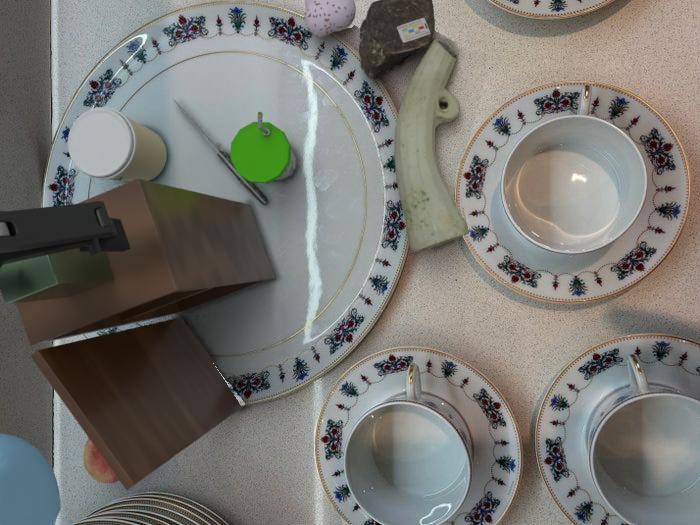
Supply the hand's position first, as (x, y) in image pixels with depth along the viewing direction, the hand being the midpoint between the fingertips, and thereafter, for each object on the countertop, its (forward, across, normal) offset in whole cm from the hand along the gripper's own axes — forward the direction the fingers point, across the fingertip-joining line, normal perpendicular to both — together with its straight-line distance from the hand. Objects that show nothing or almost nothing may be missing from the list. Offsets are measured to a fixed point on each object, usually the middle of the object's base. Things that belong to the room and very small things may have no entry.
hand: (53, 262), depth 58 cm
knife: (+39, -6, -14) cm, 42 cm away
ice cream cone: (+38, -35, -34) cm, 62 cm away
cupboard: (+38, 0, 0) cm, 38 cm away
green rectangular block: (+5, 0, 0) cm, 5 cm away
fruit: (+38, +22, +21) cm, 49 cm away
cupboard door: (+38, +8, +15) cm, 42 cm away
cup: (+39, -14, -9) cm, 42 cm away
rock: (+35, -31, -22) cm, 52 cm away
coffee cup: (+39, +5, -18) cm, 43 cm away
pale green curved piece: (+34, -30, -5) cm, 45 cm away
